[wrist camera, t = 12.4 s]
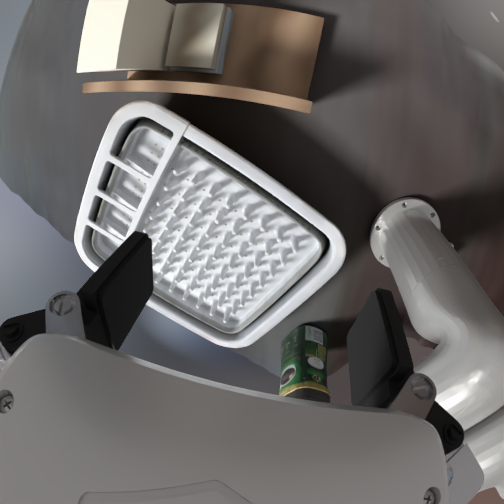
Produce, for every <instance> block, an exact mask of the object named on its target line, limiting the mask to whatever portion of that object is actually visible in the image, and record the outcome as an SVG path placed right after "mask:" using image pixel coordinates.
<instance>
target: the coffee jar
mask: <svg viewBox="0 0 504 504" xmlns="http://www.w3.org/2000/svg"><path fill="white" fill-rule="evenodd" d="M327 344H328V343H327V335H326V333H325V332H324V331H322V330H321V329H319V328H317V327H315V326H310V325H302V326H299V327H297V328H296V329H295V330H293V331H292V332H291V333H290V334H289V335H288V336H287V337H286V338H285V339H284V341H283V342H282V347H281V386H280V391H279V396H284V397H290V398H296V399H303V400H310V401H317V402H325V403H330V392H329V390H328V387H327V348H328V346H327Z"/></svg>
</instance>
